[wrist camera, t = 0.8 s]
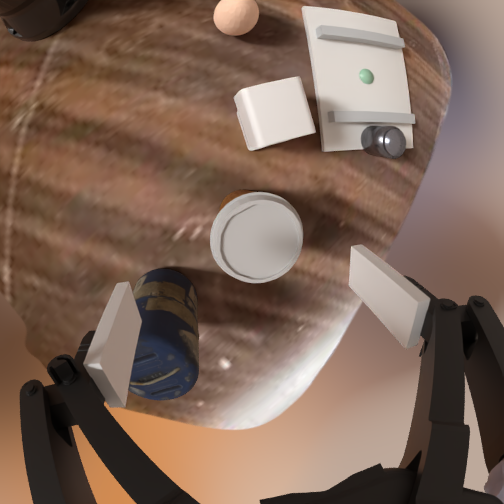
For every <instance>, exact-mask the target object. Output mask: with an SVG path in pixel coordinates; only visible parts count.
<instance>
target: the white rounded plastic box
mask: <svg viewBox="0 0 504 504" xmlns="http://www.w3.org/2000/svg"><path fill="white" fill-rule="evenodd" d="M234 100H235V103H236V106H237V109H238V112H237V116H238V119H239V122H240V125H241V128H242V131H243V135H244V138H245V141H246V144H247V147H248V150H251V151H253V150H256V149H260V148H263V147H266V146H269V145H273V144H277V143H280V142H284V141H288V140H290V139H293V138H297V137H301V136H304V135H308V134H312V133H315V132H316V130H315V126H314V123H313V119H312V116H311V112H310V109H309V105H308V102H307V98H306V95H305V92H304V89H303V85H302V82H301V79H300V77H293V78H288V79H283V80H278V81H273V82H269V83H264V84H260V85H256V86H252V87H248V88H244V89H242V90H240V91H239V92H238V93H237V94H236V95H235V97H234Z"/></svg>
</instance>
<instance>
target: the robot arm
mask: <svg viewBox="0 0 504 504" xmlns="http://www.w3.org/2000/svg"><path fill="white" fill-rule="evenodd" d="M87 1H88V0H0V17H1V19H2V21H3V23H4V24H5V26H6V28H7V29H8V31H9V32H10V34H11V35H13V36H14V37H16V38H18V39H20V40H23V41H36V40H40V39H43V38H45V37H48V36H50V35H51V34H53V33H55V32H57V31H58V30H60V29H61V28H62V27H64V26H65V25H66V24H67V23H69V22H70V21H71V20H72V19H73V18H74V17H75V16H76V15H77V14H78V13H79V12H80V11H81V9H82V8H83V7H84V6H85V4H86V3H87ZM349 287H350V288H351V289H352V290H353V291H354V292H355V293H356V294H357V295H358V296H359V297H360V298H361V300H362V301H363V302H364V303H365V304H366V305H367V306H368V307H369V308H370V309H371V311H372V312H373V313H374V314H375V315H376V316H377V317H378V318H379V320H380V321H381V322H382V323H383V324H384V325H385V326H386V327H387V329H388V330H389V331H390V332H391V333H392V334H393V335H394V336H395V338H396V339H397V340H398V341H399V342H400V344H401V345H402V346H403V347H404V348H405V349H408V348H411V347H413V346H416V345H417V344H418V341H419V338H420V335H421V336H422V337H423V338H424V339H425V340H424V343H423V346H422V349H421V352H420V355H419V356H420V357H421V355H422V359H421V367H420V376H419V383H418V390H417V396H416V402H415V408H414V413H413V419H412V423H411V428H410V432H409V437H408V441H407V445H406V449H405V453H404V456H403V459H402V461H401V463H400V465H399V467H398V468H384V469H383V468H382V466H381V464H377V465H375V466H373V467H370V468H368V469H365V470H363V471H360V472H358V473H355V474H353V475H351V476H350V477H348V478H347V479H345V480H344V481H342V482H340V483H339V484H337V485H335V486H334V487H332V488H330V489H329V490H326V491H322V492H309V493H290V494H286V495H282V496H277V497H273V498H267V499H262V500H260V504H504V327H503V325H502V324H501V322H500V320H499V319H498V317H497V315H496V313H495V312H494V310H493V309H492V307H491V305H490V304H489V302H488V301H487V300H486V299H485V298H483V297H481V296H471V297H470V298H469V300H468V303H467V305H462V306H458V305H457V304H456V303H455V302H454V301H452V300H449V299H437V298H436V297H435V296H434V295H432V294H431V293H430V292H429V291H428V290H426V289H424V287H423V286H421V285H419V284H418V282H416V281H415V280H414V279H412V278H410V277H407V276H402V275H401V274H400V273H398V272H397V271H396V270H394V269H393V268H392V267H391V266H390V265H388V264H387V263H386V262H384V261H383V260H382V259H380V258H379V257H378V256H377V255H375V254H374V253H373V252H371V251H370V250H369V249H367V248H366V247H365V246H363V245H362V244H361V245H355V246H351V259H350V274H349ZM141 323H142V320H141V317H140V314H139V311H138V308H137V305H136V302H135V299H134V296H133V293H132V290H131V286H130V283H129V282H122V283H117V284H116V286H115V288H114V291H113V293H112V295H111V297H110V299H109V302H108V304H107V306H106V308H105V311H104V313H103V315H102V318H101V320H100V322H99V325H98V327H97V330H96V331H89V332H88V333H87V334H86V335H85V336H84V337H83V339H82V342H81V344H80V346H79V349H78V352H77V354H76V356H75V358H74V359H73V358H72V357H71V356H70V355H66V354H64V355H59V356H57V357H55V358H54V359H52V360H51V361H50V363H49V364H48V367H47V372H48V374H49V375H50V377H51V378H52V379H53V381H54V383H55V384H53V385H49V386H45V387H44V386H43V385H42V383H41V382H40V381H38V380H30V381H28V382H27V383H25V384H24V385H23V386H22V389H21V390H20V417H21V432H22V442H23V450H24V458H25V465H26V471H27V476H28V481H29V486H30V490H31V495H32V500H33V503H34V504H97V503H96V500H95V498H94V495H93V493H92V490H91V488H90V485H89V483H88V480H87V477H86V474H85V471H84V468H83V465H82V462H81V459H80V456H79V452H78V449H77V446H76V442H75V438H74V434H73V430H72V427H71V426H74V425H79V427H80V429H81V430H82V432H83V433H84V435H85V437H86V438H87V440H88V441H89V443H90V444H91V445H92V447H93V448H94V450H95V452H96V453H97V454H98V456H99V457H100V459H101V460H102V462H103V463H104V464H105V466H106V467H107V468H108V470H109V471H110V472H111V474H112V475H113V476H114V477H115V479H116V480H117V481H118V482H119V484H120V485H121V486H122V487H123V489H124V490H125V491H126V492H127V493H128V494H129V496H130V497H131V498H132V499H133V500H134V501H135V502H136V503H137V504H200V503H198V502H197V501H196V500H195V499H194V498H192V497H191V496H190V495H189V494H188V493H186V492H185V491H184V490H182V489H181V488H180V487H179V486H178V485H176V484H175V483H174V482H173V481H172V480H171V479H170V478H169V477H168V476H167V475H166V474H165V473H164V472H162V470H160V469H159V468H158V467H157V465H155V463H154V462H153V461H152V460H150V458H149V457H148V456H147V455H146V454H145V453H144V452H143V451H142V450H141V449H140V448H139V447H138V446H137V444H136V443H135V442H134V441H133V440H132V439H131V438H130V437H129V435H128V434H127V433H126V432H125V431H124V430H123V428H122V427H121V426H120V425H119V423H118V422H117V421H116V420H115V419H114V417H113V416H112V415H111V414H110V412H109V411H108V410H107V408H106V407H105V406H104V401H106V402H107V404H108V405H109V407H125V405H126V399H127V393H128V387H129V382H130V376H131V371H132V365H133V360H134V355H135V350H136V346H137V341H138V336H139V332H140V327H141ZM464 372H465V374H464ZM465 375H466V378H467V382H468V385H469V389H470V392H471V396H472V400H473V404H474V408H475V412H476V417H477V421H478V426H479V431H480V436H481V442H482V447H483V453H484V458H485V463H486V466H487V469H488V473H489V476H488V481H487V483H486V484H485V486H484V490H485V492H486V493H483V492H479V491H475V490H471V489H467V488H464V487H463V484H464V479H465V473H466V465H467V458H468V449H469V436H470V428H469V425H464V403H465V377H464V376H465Z"/></svg>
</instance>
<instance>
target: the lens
mask: <svg viewBox="0 0 504 504" xmlns="http://www.w3.org/2000/svg"><path fill="white" fill-rule="evenodd" d="M361 145H362V147H363V149H364V150H365V151H366V152H367V153H368V154H370V155H375V156H381V157H386V158H392V159H396V158H399V157H400V156H401V155H402V154H403V152H404V151H405V148H406V139H405V136H404V134H403V132H402V131H401V130H400V129H399V128H397V127H395V126H368V127H366V128H365V129H364V130H363V132H362V134H361Z"/></svg>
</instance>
